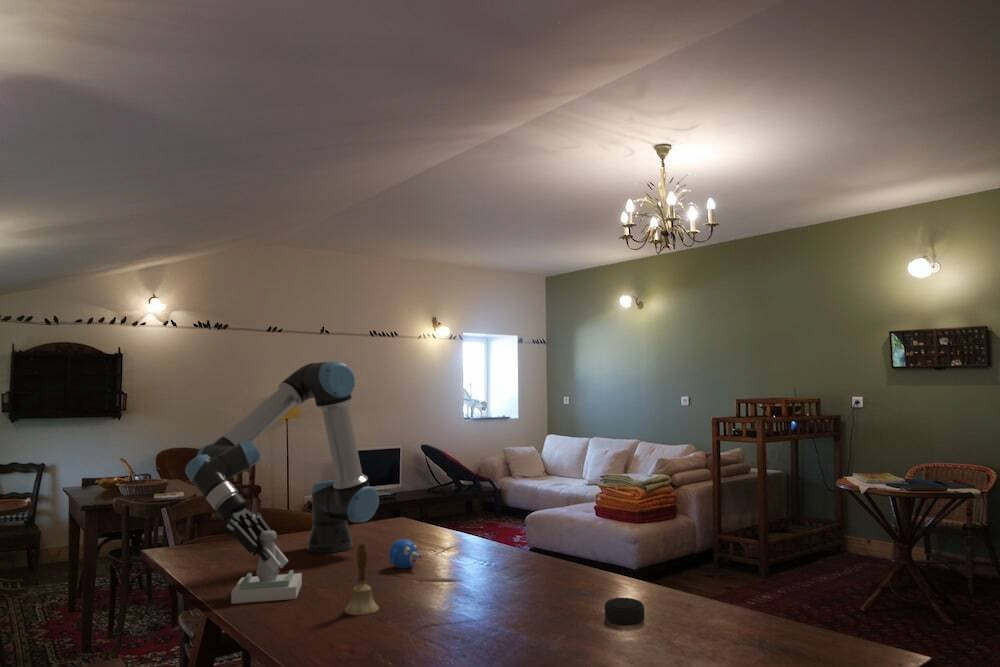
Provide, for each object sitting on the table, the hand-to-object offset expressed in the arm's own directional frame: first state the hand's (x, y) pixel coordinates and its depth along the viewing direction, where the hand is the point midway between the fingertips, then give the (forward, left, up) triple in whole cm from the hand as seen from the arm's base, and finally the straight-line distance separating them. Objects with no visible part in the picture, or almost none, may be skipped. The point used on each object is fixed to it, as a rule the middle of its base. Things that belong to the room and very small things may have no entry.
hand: (280, 566), depth 182 cm
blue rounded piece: (-35, -18, -8) cm, 39 cm away
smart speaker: (-81, +42, -8) cm, 91 cm away
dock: (+3, -2, -7) cm, 8 cm away
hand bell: (-22, +19, -8) cm, 30 cm away
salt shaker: (+4, -2, -4) cm, 6 cm away
